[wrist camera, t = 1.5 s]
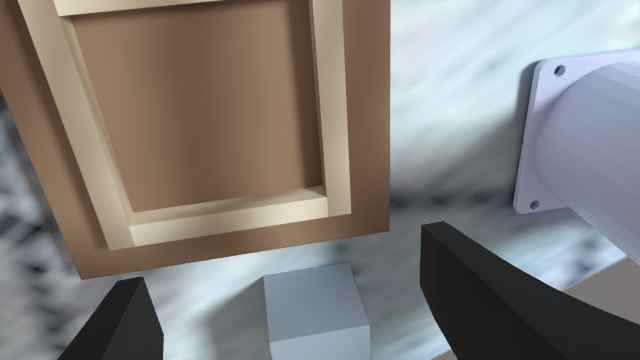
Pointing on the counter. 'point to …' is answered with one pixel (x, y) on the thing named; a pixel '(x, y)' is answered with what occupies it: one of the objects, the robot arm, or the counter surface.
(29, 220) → the counter surface
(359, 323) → the block
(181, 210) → the base board
